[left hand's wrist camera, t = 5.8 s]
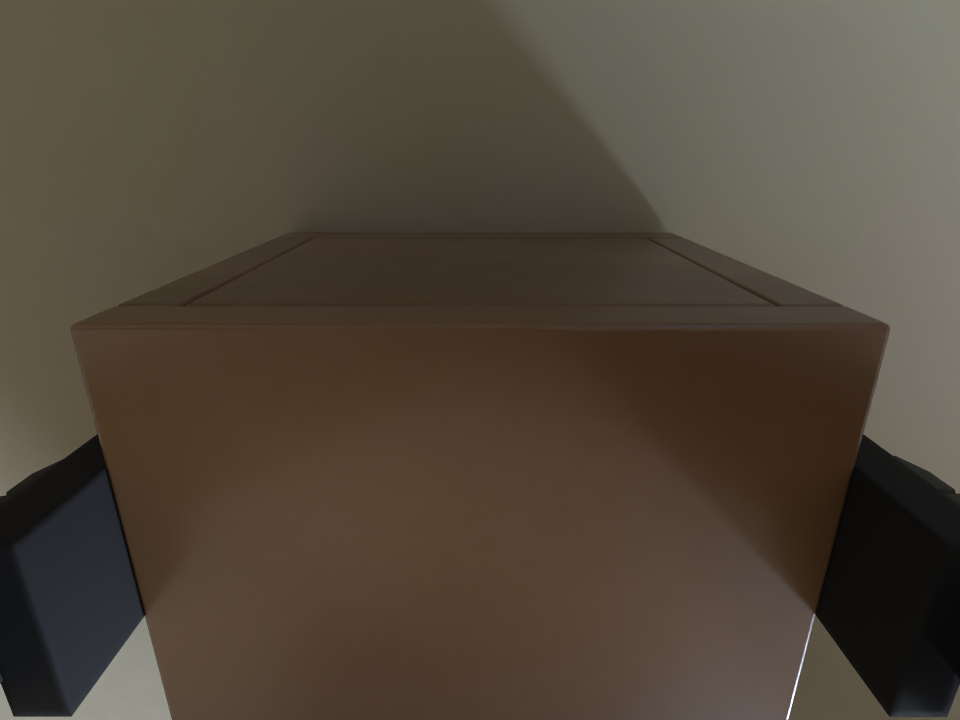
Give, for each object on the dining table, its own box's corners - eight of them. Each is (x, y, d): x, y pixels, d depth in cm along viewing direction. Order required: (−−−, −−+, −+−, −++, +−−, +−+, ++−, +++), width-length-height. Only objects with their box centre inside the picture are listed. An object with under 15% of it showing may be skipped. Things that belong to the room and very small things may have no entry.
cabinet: (617, 712, 22) (702, 1056, 14) (341, 712, 22) (257, 1056, 14) (673, 232, 16) (895, 324, 7) (286, 232, 16) (65, 324, 7)
